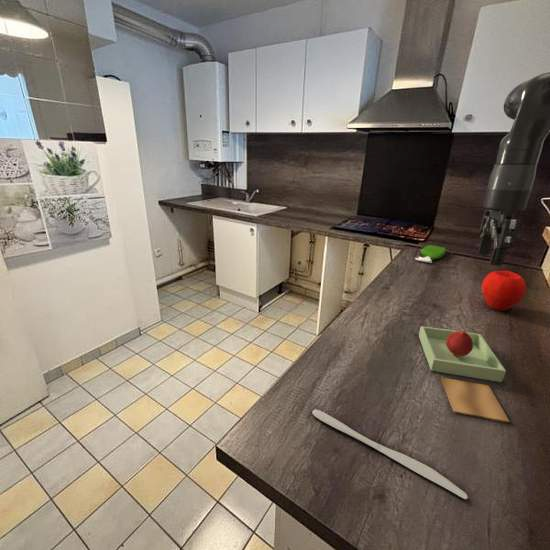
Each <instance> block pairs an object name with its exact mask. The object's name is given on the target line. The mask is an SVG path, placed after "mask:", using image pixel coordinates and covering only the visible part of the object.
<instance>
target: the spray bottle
mask: <svg viewBox="0 0 550 550" xmlns="http://www.w3.org/2000/svg"><path fill="white" fill-rule="evenodd" d="M420 253H421V255H423V256H424V257H421V256H420V255H419V256H418V257H415V258H414V259H415V261H418V262H423V263H429V264H432V263H433V261H435V260H439V259H441V258H443V257H444V256H445V254H446V253H447V249H446V247H444V246H443V247H442V246H437V245H433V244H428V245H426V246H424V247H423V248H421V250H420Z"/></svg>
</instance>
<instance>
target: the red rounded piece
mask: <svg viewBox="0 0 550 550" xmlns="http://www.w3.org/2000/svg"><path fill="white" fill-rule="evenodd" d="M456 331H457V332H453V333H452V334H450V335H449V336H448V337H447V340H446V345H447V348H448V349H449V350H450V352H451V353H453V355H454V356H465V355H467V354H469V353H470V352H471V351H472V349H473V341H472V339H471V337H470V336H469V335H468V334H467V333H466V330H465V329H463V328H462V329H459V330H456Z"/></svg>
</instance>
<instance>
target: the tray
mask: <svg viewBox="0 0 550 550" xmlns="http://www.w3.org/2000/svg"><path fill="white" fill-rule="evenodd" d="M457 331H458V330H452V329H446V328H445V329H444V328H439V327H438V328H436V327H432V326H431V327H430V326H422V325H421V326H420V329H419V331H418V332H419V333H418V337H419V341H420V343H421V346H422V350H423V353H424V355H425V358H426V361H427V363H428V366H429V369H430V371H431V372H437V373H443V374H449V375H455V376H461V377H466V378H467V377H469V378H474V379H480V380H485V381H492V382H497V383H502V382H503V381H504V377H505V375H506V372H507V371H506V368H505V367H504V366H503V364H502V363H501V362H500V360H499V358H498V357H497V356H496V355H495V353H494V352H493V350H492V349H491V347H490V346H489V344H488V343H487V341H486V340H485V338H484V337H483V336H482V335H481V333H474V332H468V331H467V332H466V331H465V332H466V333H467V334H468V335H469V336H470V337H471V339H472V341H473V349H472V351H471V352H470V353H469V354H467V355H465V356H454V355H453V353H451V352H450V350H449V349H448V348H447V345H446V340H447V337H448V336H449V335H450V334H452V333H453V332H457Z"/></svg>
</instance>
